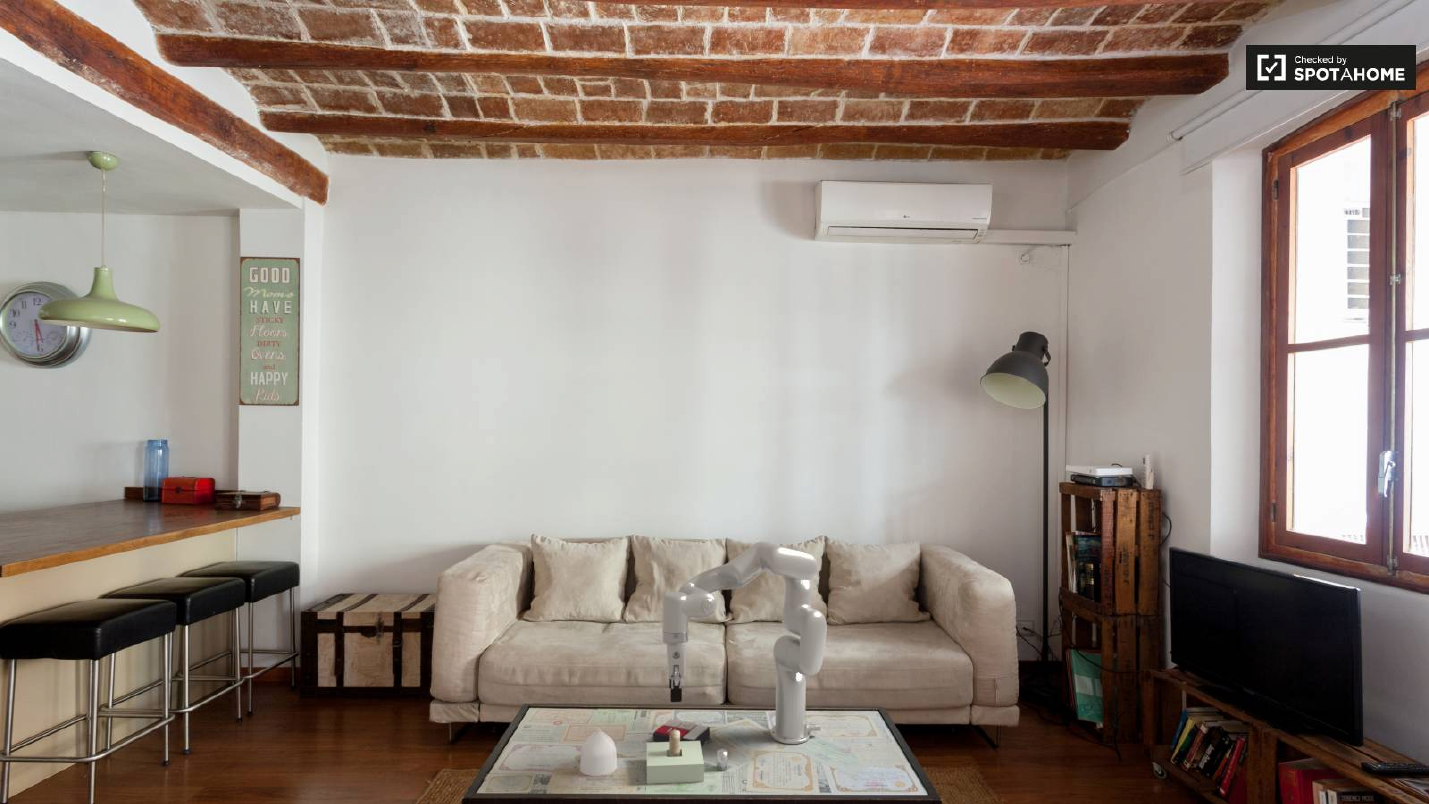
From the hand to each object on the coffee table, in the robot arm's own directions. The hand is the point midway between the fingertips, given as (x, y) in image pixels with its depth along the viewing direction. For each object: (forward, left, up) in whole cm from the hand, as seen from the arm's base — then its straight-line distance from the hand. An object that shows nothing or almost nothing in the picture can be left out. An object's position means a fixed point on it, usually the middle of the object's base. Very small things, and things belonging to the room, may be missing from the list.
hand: (675, 694), depth 212 cm
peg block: (0, 0, -22) cm, 22 cm away
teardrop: (+22, -4, -22) cm, 32 cm away
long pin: (0, 0, -22) cm, 22 cm away
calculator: (-3, -19, -23) cm, 30 cm away
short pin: (-14, 0, -22) cm, 26 cm away
